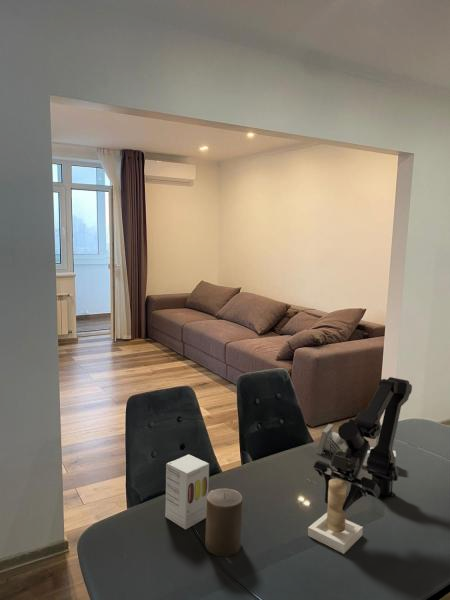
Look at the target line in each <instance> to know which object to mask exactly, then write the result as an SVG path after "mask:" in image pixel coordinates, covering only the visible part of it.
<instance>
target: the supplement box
mask: <svg viewBox="0 0 450 600" xmlns="http://www.w3.org/2000/svg"><path fill="white" fill-rule="evenodd" d="M165 468H166V469H165V510H164V511H165V514H164V515H165V518H166V519H168V520H170V521H172V522H173V523H174V524H175V525H178V526H179V527H180V528H182V529H184V530H187V529H189V528H190V527H192V526H195V525H196V524H199V523H200V522H201V521H203V520H206V509H207V495H208V494H209V486H210V485H209V480H210V479H209V478H210V477H209V476H210V463H208V462H207V461H205V460H201V459H200V458H198V457H196V456H193V455H191V454H186V455H184V456H181V457H179V458H177V459H175V460H172V461H169V462H167V463H166V464H165Z"/></svg>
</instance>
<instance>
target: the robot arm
mask: <svg viewBox="0 0 450 600" xmlns="http://www.w3.org/2000/svg"><path fill="white" fill-rule="evenodd" d="M412 390H413V385H412V384H411V383H410V381H409V380H407V379H403V378H397V377H392V376H389V377H388V378H386V379H385V378H382V379H381V380H380V381H379V386H378V388H377V390H376V391H375V393H374V395H373V397H372V398H371V401H370V402H369V404H368V405H367V407H366V408H365V409H363V410H361V411H359V412H358V413H357V415H356V416H355V418H353V419H352V418H349V420H348V421H347V422H344V423H342V424H341V425H339V427H338V430H337V432H338V433H337V434H339V436H340V438H341V439H342V441H343V442H344V443H343V444H344V445H345V447H346V449H345V451H344V452H343V453H342V452H341V455H339V454H338V455H337V454H335V455H334V454H332V455H333V457H331V459H332V460H331V461H332V462H331V461H330V464H329V463H327V462H324V461H321V460H316V461H314V463H313V466H312V469H313V470H314V471H315V472H316V474H318V476H320V477H322V478H324V481H325V494H324V503H325V504H327V505H328V489H329V480H331V479H341V480H344V481H345V482H346V483H347V484H348V483H349V484H350V489H349V491H348V494H347V498H346V501H345V503H344V505H343V509H342V510H343V511H346V512H347V510H348V509H349V508H350V507H352V505H353V504H354V503H355V502H357V501H358V500H360V499H361V498H362V497H363V498H364V497H367V495H368V496H370V497H373V498H375V499H380V500H384V499H388V498H392V497H395V496H396V492H394V491H393V483H394V482H395V481H398V476H399V472H400V471H399V469H398V467H397V465H396V464H395V456H394V453H393V451H394V450H393V448H394V447H393V446H394V444H395V443H394V442H395V438H396V433H397V428H398V423H399V419H400V414H401V410H402V407H403V405H405V403H406V402H408V400H409V398H410V395H411V393H412ZM382 416H383V418H382ZM381 418H382V423H381ZM366 438H367V439H366ZM377 438H378V441H377V444H376V445H375V446H374V447H372V449H371V450H370V447H371V445H370V441H369V440H368V439H371V440H375V439H377ZM368 450H370V454H369V457H368V459H367V466H366V469H367V474H368V475H371V479H370V478H369V477H368V478H367V477H365V476H363V477H361V479H360V478H359V475H360V472H361V470H363V469H364V467H365V466H363V462H364V460H365V457H366V454H367V452H368ZM331 466H332V467H333V468H335V469H333V468H332V467H331Z"/></svg>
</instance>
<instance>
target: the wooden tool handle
mask: <svg viewBox="0 0 450 600" xmlns="http://www.w3.org/2000/svg"><path fill="white" fill-rule="evenodd" d="M347 493H348V482H346V481H344V480H341V479H338V478H335V479H331V480H329V489H328V503H327V510H326V513H327V528H328V529H329V530H331V531H333V532H343V531H344V530H345V519H346V518H347V517H346V516H347V515H346V514H347V510H346V511H343V510H342V509H343V505H344V503H345V501H346V498H347V496H348V494H347ZM346 520H347V519H346Z"/></svg>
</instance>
